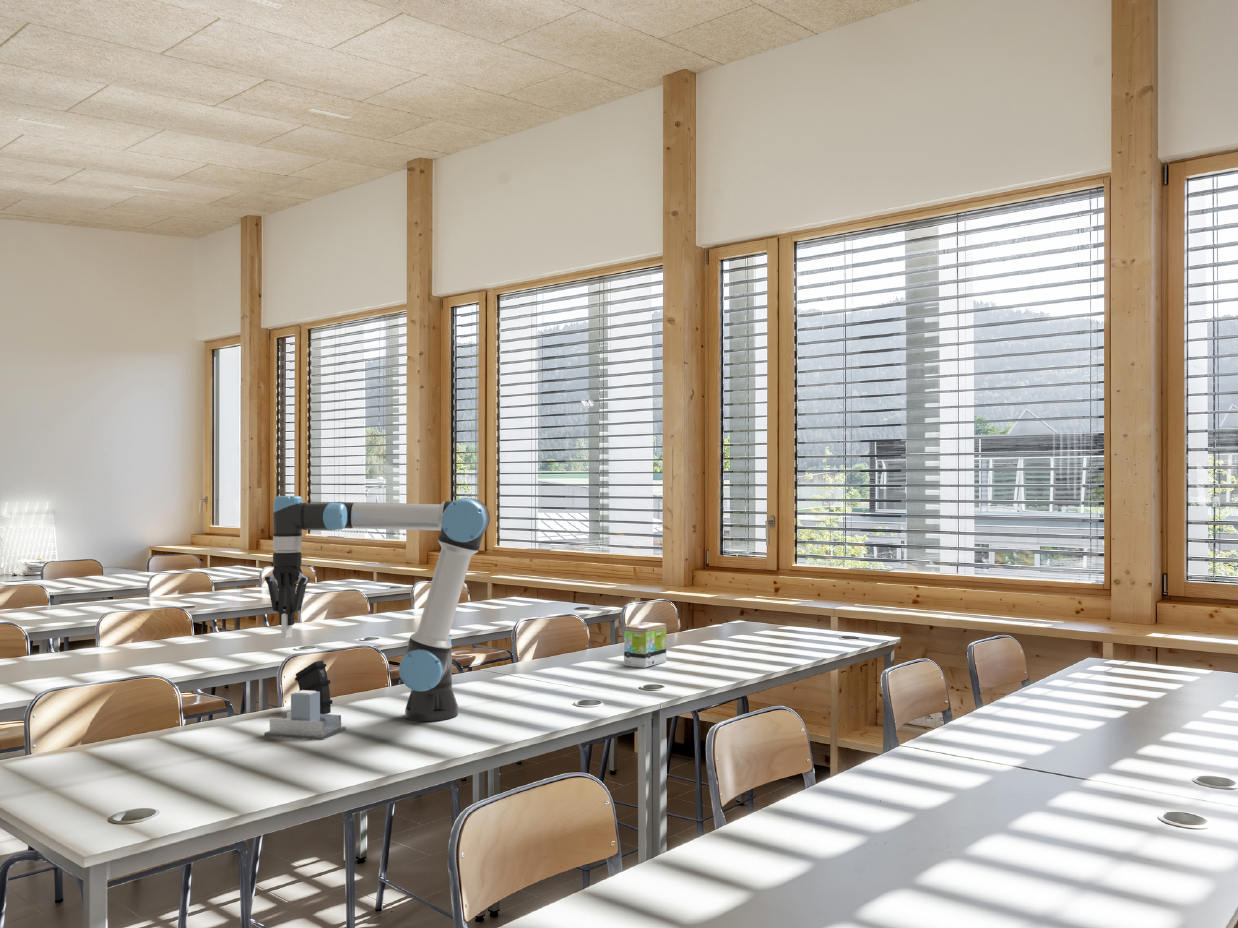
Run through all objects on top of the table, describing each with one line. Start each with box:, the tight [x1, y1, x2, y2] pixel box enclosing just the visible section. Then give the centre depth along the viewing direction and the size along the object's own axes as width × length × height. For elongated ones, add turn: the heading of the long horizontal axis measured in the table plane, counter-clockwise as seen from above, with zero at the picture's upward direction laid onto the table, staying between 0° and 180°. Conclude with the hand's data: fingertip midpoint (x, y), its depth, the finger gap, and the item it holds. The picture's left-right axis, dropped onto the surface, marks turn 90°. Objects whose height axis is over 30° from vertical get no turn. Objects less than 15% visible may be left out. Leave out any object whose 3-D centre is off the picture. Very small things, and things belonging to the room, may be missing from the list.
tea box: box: [623, 621, 667, 669], centre depth 358 cm, size 15×10×15 cm, turn 147°
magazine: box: [294, 660, 333, 714], centre depth 288 cm, size 4×13×15 cm, turn 54°
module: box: [290, 690, 320, 721], centre depth 262 cm, size 6×4×9 cm
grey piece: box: [264, 711, 347, 741], centre depth 262 cm, size 18×11×4 cm, turn 73°
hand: (286, 637), depth 266 cm, fingers closed
